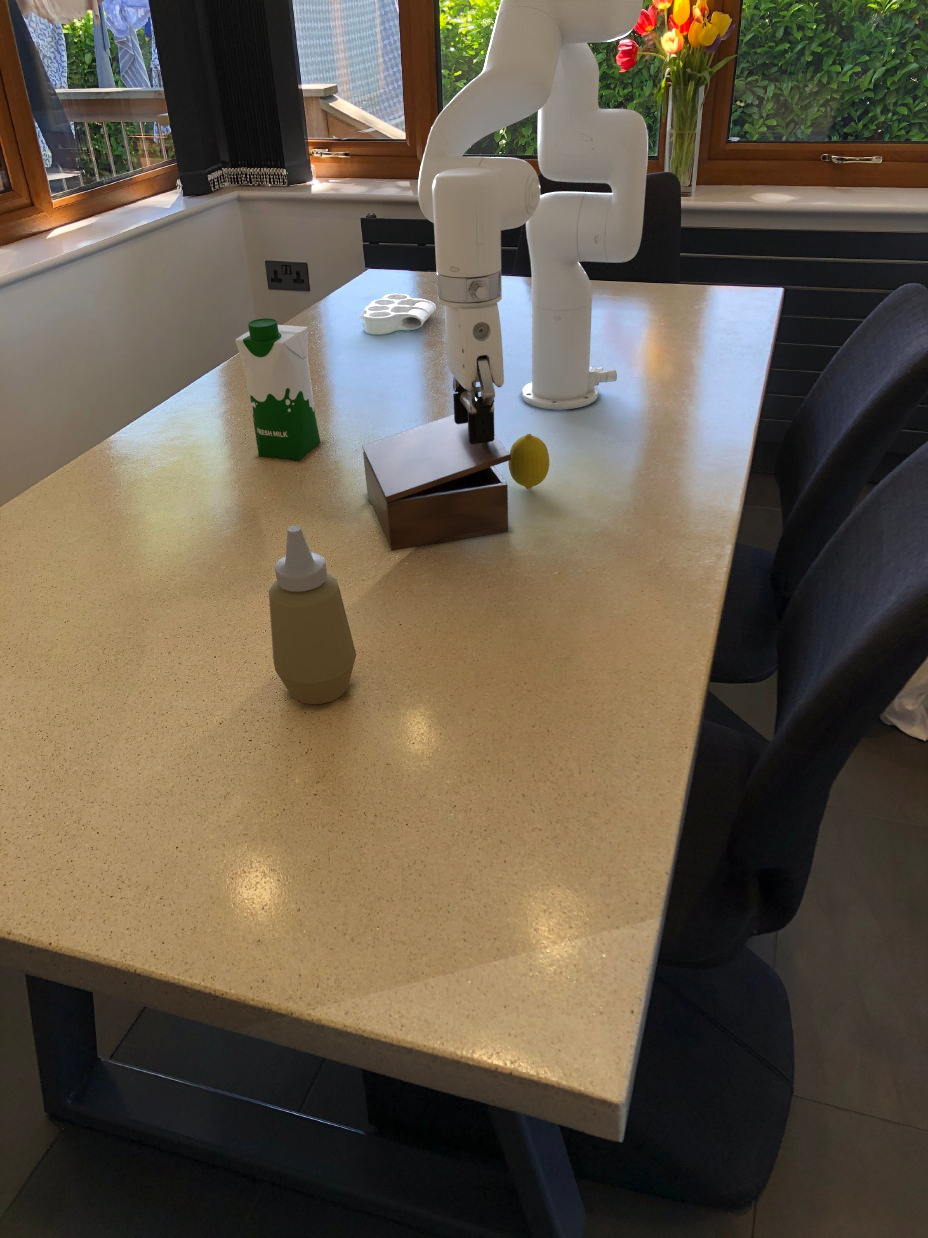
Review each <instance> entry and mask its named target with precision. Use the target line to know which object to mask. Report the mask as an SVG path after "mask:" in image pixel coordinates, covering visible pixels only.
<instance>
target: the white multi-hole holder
mask: <svg viewBox="0 0 928 1238" xmlns="http://www.w3.org/2000/svg"><path fill="white" fill-rule="evenodd" d="M436 308H437V306H436V304H435V303H434V302H433V301H431V300H429V299H424V298H412V297H411V296H409V295H408V294H406V293H405V294H404V293H391V294H385V295H383V297H381V298H379V299H375V300H373V301H370V302H369V305H368V306H365V307H364V312H363V313H362V314H360V315H358V316H357V318H359V319H360V320H362V321H363V322H364V331H365V333H366V334H369V335H375V336H376V335H378V336H379V335H388V334H391V333H393V332H397V331H413V330H418V329H420V328H421V327H423V326H424V324H425V322H426V321H428V320H429V318H430V316H431V315H432V314H433V313H434V312H435V311H436Z"/></svg>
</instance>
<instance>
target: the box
mask: <svg viewBox="0 0 928 1238" xmlns="http://www.w3.org/2000/svg"><path fill="white" fill-rule="evenodd" d="M362 457H363V465H364V466H363V467H364V474H365V483H366V493H367V497H368V500H369V502H370V504H371V507H372V509H373V512H374V514H375V516H376V518H377V520H378V523H379V525H380V527H381V530H382V532H383V535H384V537H385V539H386V542H387V544H388V547H389V549H390V551H391V552H393V551H399V550H400V551H401V550H405V549H406V550H407V549H411V548H416V547H417V548H418V547H423V546H428V545H437V544H441V543H447V542H453V541H459V540H465V539H470V538H476V537H482V536H483V537H484V536H488V535H494V534H500V533H505V532H509V496H508V494H509V492H508V491H509V490H508V489H509V486H508V483H507V481H505V479H504V478H503V475H502V474H501V473H500V472H499V471H498V469H497V468H496V467H495V466H492V467H489V468H486V469H483V470H480V471H477V472H475V473H472V474H469V475H466V476H463V477H460V478H457V479H454V480H451V481H449V482H446V483H443V484H440V485H437V486H434V487H431V488H428V489H425V490H423V491H420V492H417V493H414V494H411V495H408V496H405V497H402V498H399V499H396V500H394V501H391V502H387V501H386V498H385V496H384V494H383V492H382V490H381V488H380V485H379V483H378V481H377V479H376V477H375V475H374V472H373V470H372V468H371V466H370V464H369V462H368V459H367V457H366V455H365V453H364V451H363V450H362Z"/></svg>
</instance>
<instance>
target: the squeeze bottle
mask: <svg viewBox="0 0 928 1238" xmlns="http://www.w3.org/2000/svg"><path fill="white" fill-rule="evenodd" d="M286 531H287V533H286V544H285V545H286V546H285V556H283V557H281V558H280V559H279V560H277V562H276V563H275V565H274V572H275V578H276V581H274V582H273V583H272V584H271V586H270V588H269V590H268V601H269V602H268V604H269V615H270V631H271V646H272V647H271V648H272V662H273V667H274V671H275V673H276V675H277V676H278V678H279V679H280V680H281V681H282V683H283V685H284V686H285V688H286V689H287V691H288V692H289V694H290V695H291V697H293V699H294V700H295V701H298V702H300V703H303V704H305V705H321V704H326V703H331V702H332V701H335V700H336V699H339V698H341V697H342V695H343V694H345V693H346V692H347V690H348V688H349V684H350V681H351V676H352V673H353V669H354V666H355V661H356V658H357V651H356V648H355V647H356V646H355V644H354V641H353V636H352V632H351V628H350V625H349V621H348V617H347V612H346V608H345V604H344V601H343V600H344V599H343V596H342V593H341V589H340V585H339V582H338V579H337V578H336V577H334V576H333V575H332V574H330V573H329V572H328V570H327V563H326V561H325V558H324V557H323V556H322V555H320V554H319V553H315V552H312V551H311V549H310V547H309V545H308V542H307V540H306V537H305V535H304V532H303V530H302V528H301V526H299V525H291V526H289V527H288V528H287V530H286Z"/></svg>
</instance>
